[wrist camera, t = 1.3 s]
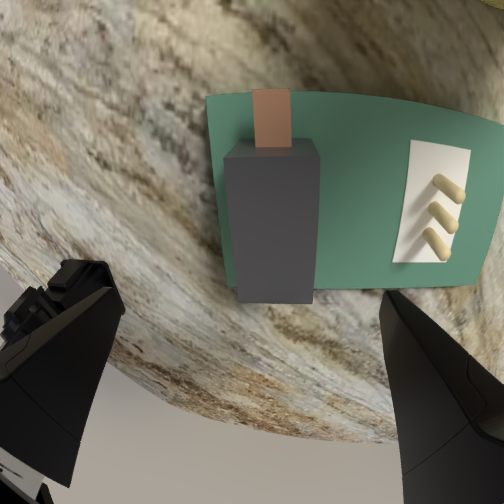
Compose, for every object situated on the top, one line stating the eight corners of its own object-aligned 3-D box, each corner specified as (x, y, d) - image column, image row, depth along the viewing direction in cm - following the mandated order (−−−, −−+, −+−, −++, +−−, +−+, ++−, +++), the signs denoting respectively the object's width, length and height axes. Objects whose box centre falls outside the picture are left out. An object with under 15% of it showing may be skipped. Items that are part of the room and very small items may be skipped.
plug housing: (308, 256, 20) (312, 304, 16) (249, 255, 21) (238, 302, 16) (310, 89, 14) (319, 88, 10) (237, 91, 15) (217, 91, 10)
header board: (468, 275, 21) (489, 306, 17) (230, 275, 24) (219, 313, 20) (502, 124, 13) (538, 138, 10) (211, 95, 16) (189, 97, 12)
